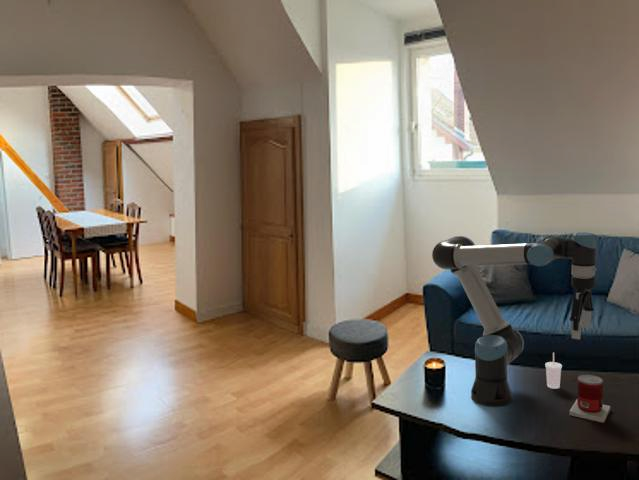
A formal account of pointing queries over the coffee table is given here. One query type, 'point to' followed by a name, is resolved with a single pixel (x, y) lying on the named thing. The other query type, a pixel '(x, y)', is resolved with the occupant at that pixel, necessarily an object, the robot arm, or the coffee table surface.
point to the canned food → (590, 393)
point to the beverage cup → (553, 374)
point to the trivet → (588, 415)
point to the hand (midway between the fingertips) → (581, 333)
